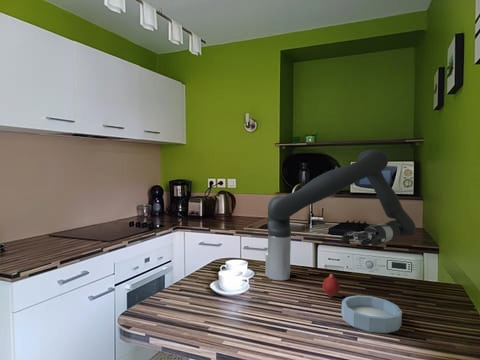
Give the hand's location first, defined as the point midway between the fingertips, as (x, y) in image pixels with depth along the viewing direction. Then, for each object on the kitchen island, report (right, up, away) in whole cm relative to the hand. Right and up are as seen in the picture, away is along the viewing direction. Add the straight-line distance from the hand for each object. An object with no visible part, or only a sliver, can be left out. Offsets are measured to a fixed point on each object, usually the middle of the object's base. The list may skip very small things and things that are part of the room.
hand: (351, 241), depth 119 cm
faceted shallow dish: (-2, -19, -22) cm, 29 cm away
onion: (-9, -19, -5) cm, 21 cm away
